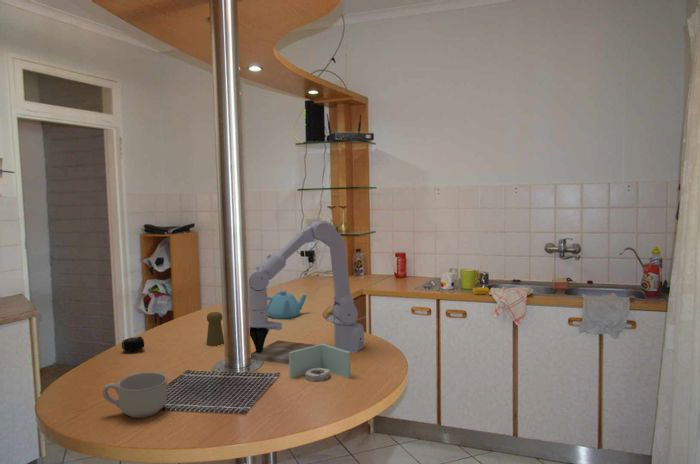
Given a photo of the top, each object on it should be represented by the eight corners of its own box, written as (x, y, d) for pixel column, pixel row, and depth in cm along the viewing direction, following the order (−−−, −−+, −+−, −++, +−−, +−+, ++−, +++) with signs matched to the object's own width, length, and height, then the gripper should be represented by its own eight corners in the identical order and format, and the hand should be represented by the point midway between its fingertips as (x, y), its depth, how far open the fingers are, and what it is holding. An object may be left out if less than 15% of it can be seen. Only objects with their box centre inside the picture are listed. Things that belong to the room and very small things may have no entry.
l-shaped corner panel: (289, 378, 142) (288, 352, 142) (322, 368, 150) (322, 343, 150) (316, 390, 133) (316, 361, 133) (350, 378, 142) (350, 352, 141)
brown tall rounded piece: (226, 341, 180) (226, 310, 180) (220, 346, 174) (219, 314, 174) (210, 341, 181) (209, 310, 180) (203, 346, 175) (202, 314, 174)
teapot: (279, 310, 230) (278, 286, 230) (308, 313, 224) (307, 289, 223) (258, 317, 217) (257, 292, 216) (288, 321, 210) (287, 295, 209)
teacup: (174, 403, 126) (173, 371, 125) (159, 422, 115) (158, 387, 114) (116, 404, 125) (115, 372, 125) (96, 424, 114) (94, 388, 114)
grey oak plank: (314, 356, 162) (314, 351, 162) (298, 366, 153) (298, 361, 152) (266, 350, 169) (266, 345, 169) (248, 359, 160) (248, 354, 160)
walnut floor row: (325, 350, 168) (325, 345, 168) (315, 356, 162) (315, 351, 162) (278, 344, 175) (278, 340, 175) (267, 350, 169) (267, 345, 169)
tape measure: (145, 349, 169) (143, 338, 168) (122, 354, 166) (121, 343, 166) (144, 345, 175) (143, 334, 175) (122, 350, 172) (121, 339, 172)
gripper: (284, 306, 163) (285, 348, 164) (242, 305, 166) (243, 346, 167) (276, 311, 156) (277, 355, 157) (232, 310, 160) (233, 353, 160)
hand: (259, 351), depth 162 cm, fingers closed
